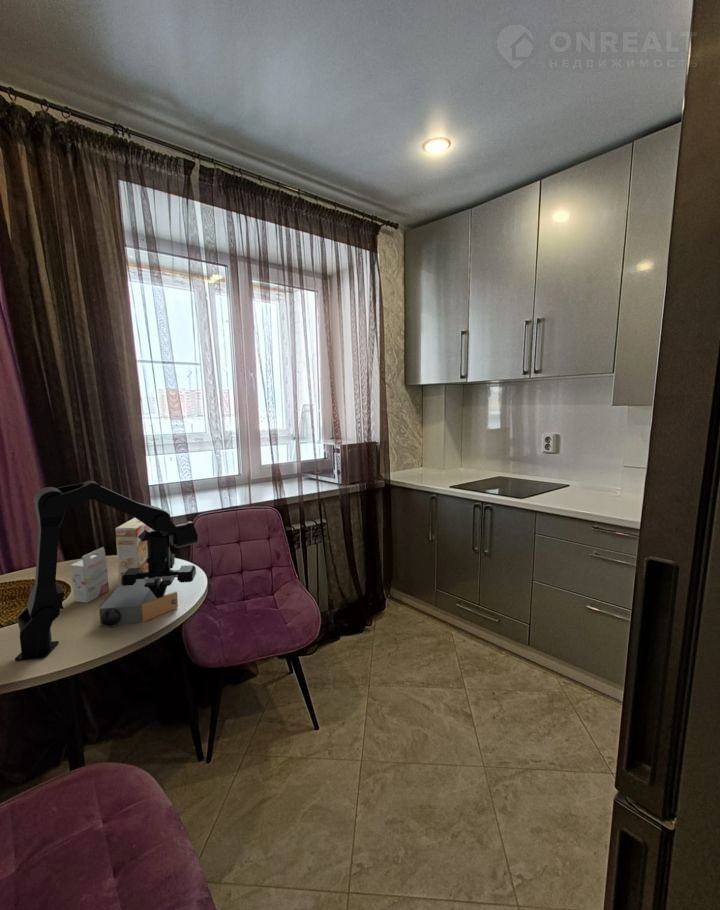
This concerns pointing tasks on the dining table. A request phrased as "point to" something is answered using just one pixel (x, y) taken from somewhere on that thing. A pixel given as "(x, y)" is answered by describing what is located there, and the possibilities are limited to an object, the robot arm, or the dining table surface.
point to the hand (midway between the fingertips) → (161, 602)
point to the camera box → (125, 604)
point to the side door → (159, 606)
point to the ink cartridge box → (90, 576)
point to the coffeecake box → (131, 546)
